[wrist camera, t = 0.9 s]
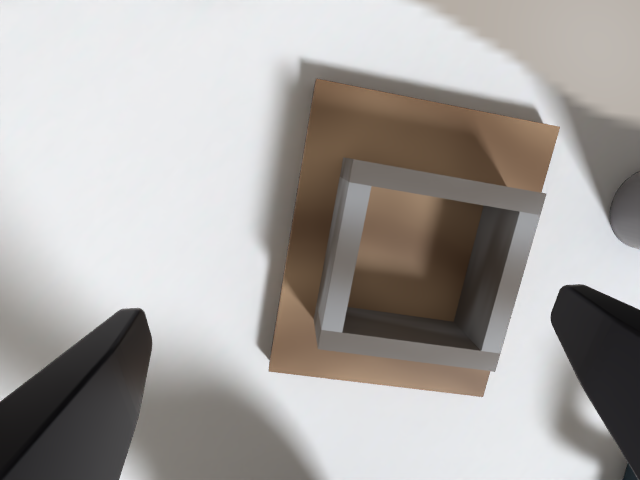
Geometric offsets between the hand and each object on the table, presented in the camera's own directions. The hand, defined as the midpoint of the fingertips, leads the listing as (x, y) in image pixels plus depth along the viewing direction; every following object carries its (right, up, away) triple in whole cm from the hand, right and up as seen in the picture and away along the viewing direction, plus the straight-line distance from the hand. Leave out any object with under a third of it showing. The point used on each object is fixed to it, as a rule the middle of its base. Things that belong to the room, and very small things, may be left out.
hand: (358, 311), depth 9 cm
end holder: (+4, +1, +15) cm, 15 cm away
